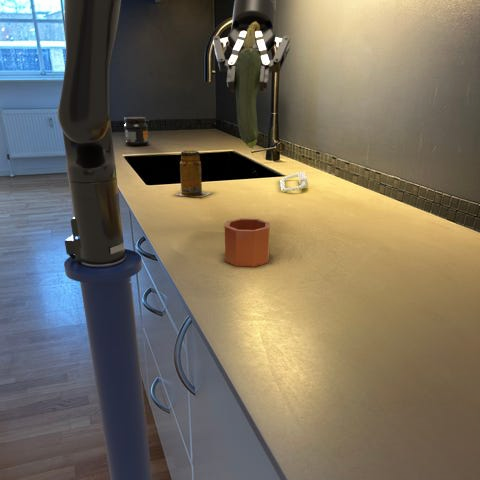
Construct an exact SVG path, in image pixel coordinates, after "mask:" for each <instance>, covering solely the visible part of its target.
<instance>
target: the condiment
mask: <svg viewBox="0 0 480 480" xmlns="http://www.w3.org/2000/svg"><path fill="white" fill-rule="evenodd" d="M179 173H180V190H181V192H179V193H175V196H182V197H192V198H204V197H207V196H209V195H211V194H213V192H211V191H204V190H203V187H202V186H203V184H202V183H203V182H202V162H201V159H200V152H199V151H197V150H182V151H181V152H180V162H179Z"/></svg>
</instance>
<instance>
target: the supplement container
mask: <svg viewBox="0 0 480 480" xmlns="http://www.w3.org/2000/svg"><path fill="white" fill-rule="evenodd" d="M146 122H147V117H145V116H126V117H124V123H125V124H123V125H124V126H123V129H124V137H125V144H126V145H127V146H128V147H134V148H135V147H146V146H148V145H149V144H150V141H149V133H148V132H149V131H148V124H147V123H146Z"/></svg>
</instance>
